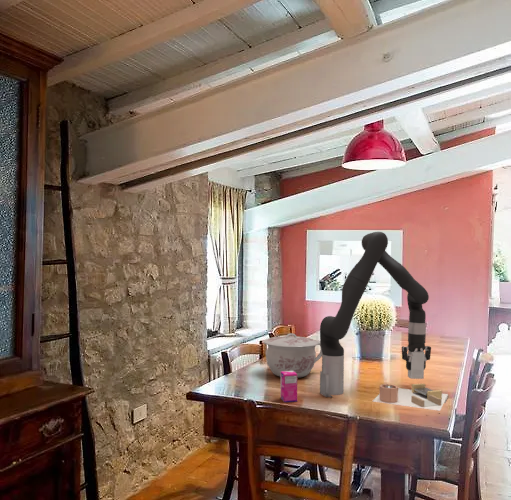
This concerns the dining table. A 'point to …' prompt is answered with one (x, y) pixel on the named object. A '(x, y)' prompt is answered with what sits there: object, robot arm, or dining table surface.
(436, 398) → the white square board
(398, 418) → the dining table surface
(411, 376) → the skincare box
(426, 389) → the plate
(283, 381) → the supplement box
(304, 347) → the chamber pot
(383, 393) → the cup
